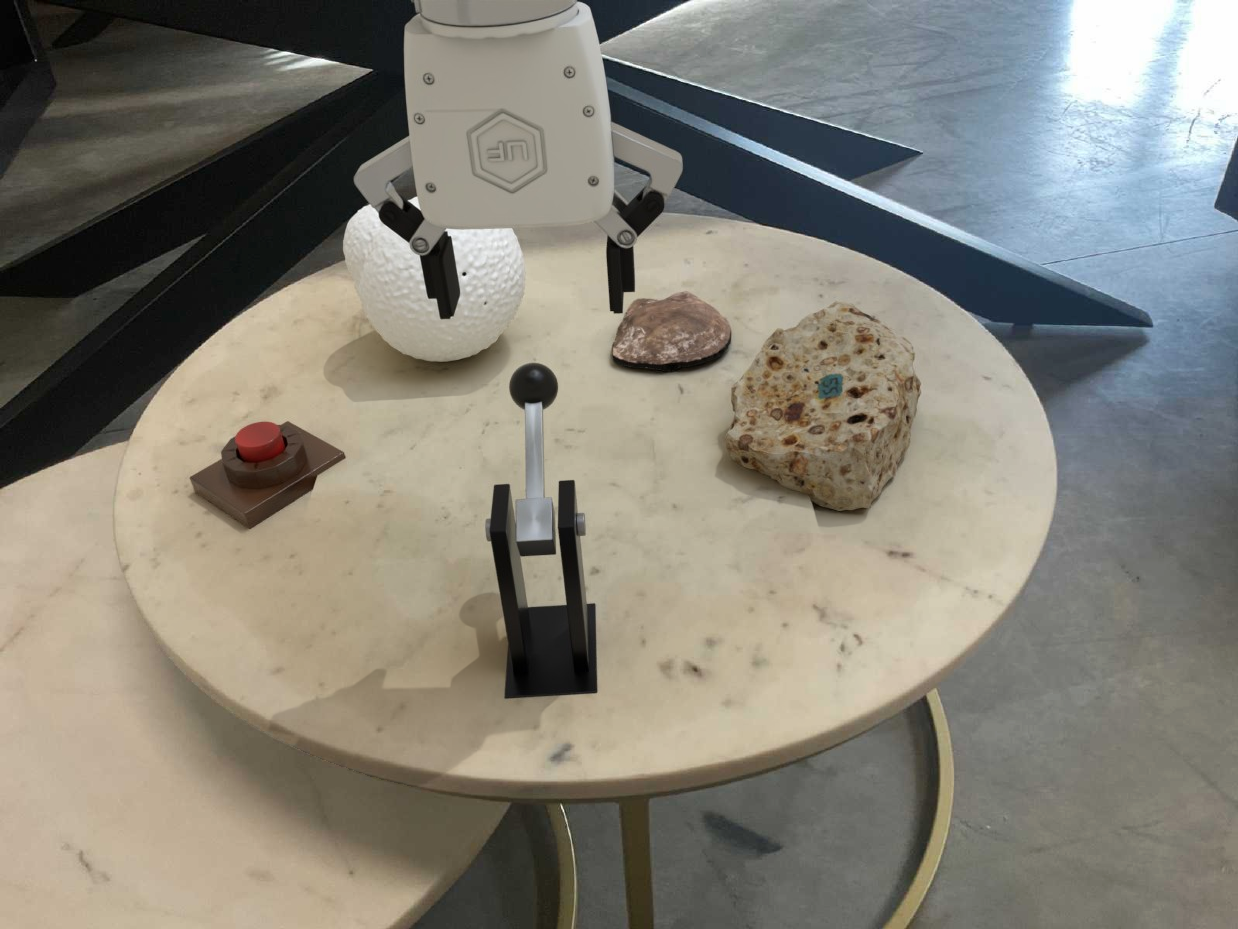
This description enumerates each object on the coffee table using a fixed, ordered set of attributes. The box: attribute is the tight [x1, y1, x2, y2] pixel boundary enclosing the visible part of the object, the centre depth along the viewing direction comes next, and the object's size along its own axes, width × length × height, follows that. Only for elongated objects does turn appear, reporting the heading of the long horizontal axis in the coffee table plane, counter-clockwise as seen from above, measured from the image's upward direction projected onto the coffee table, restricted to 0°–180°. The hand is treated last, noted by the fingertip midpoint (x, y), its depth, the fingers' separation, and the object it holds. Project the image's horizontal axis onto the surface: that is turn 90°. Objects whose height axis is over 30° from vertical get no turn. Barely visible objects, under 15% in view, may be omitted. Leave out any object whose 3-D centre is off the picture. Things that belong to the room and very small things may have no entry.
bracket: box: [484, 479, 598, 700], centre depth 66 cm, size 8×6×14 cm
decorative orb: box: [310, 196, 527, 363], centre depth 99 cm, size 20×18×16 cm
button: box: [234, 421, 285, 463], centre depth 85 cm, size 4×4×2 cm
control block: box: [189, 420, 346, 530], centre depth 86 cm, size 10×8×4 cm
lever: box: [508, 362, 559, 557], centre depth 65 cm, size 13×3×3 cm, turn 2°
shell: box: [611, 290, 732, 373], centre depth 101 cm, size 12×13×4 cm
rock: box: [723, 300, 922, 512], centre depth 87 cm, size 21×14×10 cm
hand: (533, 304), depth 59 cm, fingers open, 9 cm apart
